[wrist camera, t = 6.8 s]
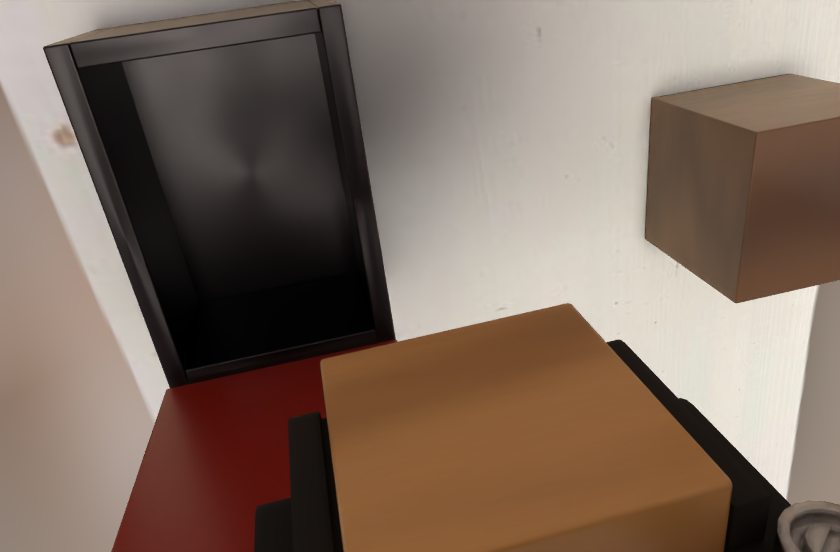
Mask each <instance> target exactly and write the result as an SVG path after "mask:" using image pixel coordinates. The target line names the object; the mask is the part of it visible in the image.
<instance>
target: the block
mask: <svg viewBox="0 0 840 552" xmlns="http://www.w3.org/2000/svg"><path fill="white" fill-rule="evenodd" d="M320 367H321V375H322V383H323V392H324V400H325V408H326V416H327V424H328V432H329V440H330V448H331V456H332V464H333V472H334V480H335V488H336V496H337V504H338V512H339V520H340V528H341V536H342V544H343V552H724V546H725V539H726V531H727V524H728V516H729V509H730V501H731V494H732V482H731V480H730V478H729V477H728V476H727V475H726V474H725V473H724V472H723V471H722V470H721V469H720V467H719V466H718V465H717V464H716V463H715V462H714V461H713V460H712V459H711V458H710V456H709V455H708V454H707V453H706V452H705V451H704V450H703V449H702V448H701V447H700V445H699V444H698V443H697V442H696V441H695V440H694V439H693V438H692V437H691V435H690V434H689V433H688V432H687V431H686V430H685V429H684V428H683V427H682V426H681V424H680V423H679V422H678V421H677V420H676V419H675V418H674V417H673V416H672V415H671V413H670V412H669V411H668V410H667V409H666V408H665V407H664V406H663V405H662V404H661V402H660V401H659V400H658V399H657V398H656V397H655V396H654V395H653V394H652V393H651V391H650V390H649V389H648V388H647V387H646V386H645V385H644V384H643V383H642V382H641V380H640V379H639V378H638V377H637V376H636V375H635V374H634V373H633V372H632V370H631V369H630V368H629V367H628V366H627V365H626V364H625V363H624V362H623V361H622V359H621V358H620V357H619V356H618V355H617V354H616V353H615V352H614V351H613V350H612V348H611V347H610V346H609V345H608V344H607V343H606V342H605V341H604V340H603V339H602V337H601V336H600V335H599V334H598V333H597V332H596V331H595V330H594V329H593V328H592V326H591V325H590V324H589V323H588V322H587V321H586V320H585V319H584V318H583V317H582V315H581V314H580V313H579V312H578V311H577V310H576V309H575V308H574V307H573V305H572V304H569V303H566V304H562V305H557V306H553V307H549V308H544V309H540V310H536V311H531V312H527V313H522V314H518V315H514V316H509V317H505V318H500V319H496V320H492V321H487V322H483V323H478V324H474V325H470V326H465V327H461V328H456V329H452V330H448V331H443V332H439V333H434V334H430V335H426V336H421V337H417V338H412V339H408V340H404V341H399V342H395V343H390V344H386V345H382V346H377V347H373V348H368V349H364V350H360V351H355V352H351V353H346V354H342V355H338V356H333V357H329V358H325V359H322V360H321V363H320Z"/></svg>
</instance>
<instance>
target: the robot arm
mask: <svg viewBox="0 0 840 552" xmlns="http://www.w3.org/2000/svg"><path fill="white" fill-rule="evenodd" d="M606 343H607V344H608V345H609V346H610V347H611V348H612V350H613V351H614V352H615V353H616V354H617V355H618V356H619V357H620V358H621V359H622V361H623V362H624V363H625V364H626V365H627V366H628V367H629V368H630V369H631V370H632V372H633V373H634V374H635V375H636V376H637V377H638V378H639V379H640V380H641V382H642V383H643V384H644V385H645V386H646V387H647V388H648V389H649V390H650V391H651V393H652V394H653V395H654V396H655V397H656V398H657V399H658V400H659V401H660V402H661V404H662V405H663V406H664V407H665V408H666V409H667V410H668V411H669V412H670V413H671V415H672V416H673V417H674V418H675V419H676V420H677V421H678V422H679V423H680V424H681V426H682V427H683V428H684V429H685V430H686V431H687V432H688V433H689V434H690V435H691V437H692V438H693V439H694V440H695V441H696V442H697V443H698V444H699V445H700V447H701V448H702V449H703V450H704V451H705V452H706V453H707V454H708V455H709V456H710V458H711V459H712V460H713V461H714V462H715V463H716V464H717V465H718V466H719V467H720V469H721V470H722V471H723V472H724V473H725V474H726V475H727V476H728V477H729V478H730V480H731V482H732V494H731V501H730V509H729V516H728V524H727V531H726V539H725V546H724V552H840V505H838V504H834V503H830V502H825V501H824V502H823V501H805V502H801V503H796V504H793V505H792V506H791V505H790V504H789V502H788V501H787V500H786V499H785V498H784V497H783V496H782V495H781V494H780V493H779V492H778V491H777V490H776V489H775V488H774V487H773V486H772V485H771V484H770V483H769V482H768V481H767V480H766V479H765V478H764V477H763V476H762V475H761V474H760V473H759V472H758V471H757V470H756V469H755V468H754V467H753V466H752V465H751V464H750V463H749V462H748V461H747V460H746V459H745V458H744V456H743V455H742V454H741V453H740V452H739V451H738V450H737V449H736V448H735V447H734V446H733V445H732V444H731V443H730V442H729V441H728V440H727V439H726V438H725V437H724V436H723V435H722V434H721V433H720V432H719V431H718V430H717V429H716V428H715V427H714V426H713V425H712V424H711V423H710V422H709V421H708V420H707V419H706V418H705V417H704V416H703V415H702V414H701V413H700V412H699V411H698V409H697V408H696V407H695V406H694V405H692V404H691V403H690V402H689V401H687V400H685V399H682V398H679V399H678V398H677V397H676V396H675V395H674V394H673V393H672V391H671V390H670V389H669V388H668V387H667V386H666V385H665V384H664V383H663V382H662V381H661V380H660V379H659V378H658V377H657V376H656V375H655V374H654V373H653V372H652V371H651V370H650V369H649V367H648V366H647V365H646V364H645V363H644V362H643V361H642V360H641V359H640V358H639V357H638V356H637V355H636V354H635V353H634V352H633V351H632V350H631V349H630V348H629V347H628V346H627V345H626V344H625V343H624V342H623V341H622V340H615V341H610V342H606ZM288 436H289V463H290V489H291V497H290V498H286V499H282V500H278V501H274V502H270V503H266V504H263V505H259V506H257V508H256V514H255V539H254V552H343V544H342V536H341V528H340V520H339V512H338V504H337V496H336V488H335V480H334V472H333V464H332V456H331V448H330V440H329V432H328V424H327V418H323V419H322V418H321V414H320V412H319V411H317V412H312V413H308V414H304V415H300V416H296V417H291V418H289V419H288Z"/></svg>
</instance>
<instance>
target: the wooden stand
mask: <svg viewBox="0 0 840 552" xmlns="http://www.w3.org/2000/svg"><path fill="white" fill-rule="evenodd" d="M645 239H646V240H647V241H649V242H650V243H652V244H653V245H654V246H656V247H657V248H659V249H660V250H661V251H663V252H664V253H666V254H667V255H668V256H670V257H671V258H673V259H674V260H675V261H677V262H678V263H680V264H681V265H682V266H684V267H685V268H687V269H688V270H689V271H691V272H692V273H694V274H695V275H696V276H698V277H699V278H701V279H702V280H703V281H705V282H706V283H708V284H709V285H710V286H712V287H713V288H715V289H716V290H717V291H719V292H720V293H722V294H723V295H724V296H726V297H727V298H729V299H730V300H731V301H733V302H734V303H740V302H745V301H749V300H753V299H758V298H762V297H767V296H771V295H775V294H780V293H784V292H789V291H793V290H797V289H802V288H806V287H811V286H815V285H820V284H824V283H828V282H833V281H837V280H840V84H839V83H834V82H829V81H824V80H819V79H814V78H809V77H804V76H798V75H793V74H786V75H781V76H775V77H769V78H764V79H758V80H752V81H747V82H741V83H735V84H729V85H724V86H718V87H712V88H707V89H701V90H695V91H690V92H684V93H678V94H672V95H667V96H661V97H655V98H652V109H651V130H650V151H649V172H648V193H647V214H646V235H645Z"/></svg>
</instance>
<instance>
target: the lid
mask: <svg viewBox="0 0 840 552" xmlns="http://www.w3.org/2000/svg"><path fill="white" fill-rule="evenodd" d="M395 342H397V340H391V341H386V342H382V343H377V344H372V345H368V346H363V347H359V348H354V349H349V350H345V351H340V352H336V353H331V354H326V355H322V356H317V357H313V358H308V359H304V360H299V361H294V362H290V363H285V364H281V365H276V366H271V367H267V368H262V369H258V370H253V371H248V372H244V373H239V374H235V375H230V376H225V377H221V378H216V379H212V380H207V381H202V382H198V383H193V384H189V385H184V386H180V387H175V388H170V389H167V390H166V393H165V395H164V398H163V401H162V404H161V407H160V410H159V413H158V416H157V419H156V422H155V425H154V428H153V431H152V434H151V437H150V440H149V443H148V445H147V448H146V451H145V454H144V457H143V460H142V463H141V466H140V469H139V472H138V475H137V478H136V481H135V484H134V487H133V490H132V493H131V496H130V499H129V501H128V505H127V507H126V511H125V513H124V516H123V519H122V522H121V525H120V528H119V531H118V534H117V537H116V540H115V543H114V546H113V548H112V551H111V552H254V539H255V514H256V508H257V506H259V505H263V504H266V503H270V502H274V501H278V500H282V499H286V498H290V497H291V489H290V463H289V436H288V419H289V418H291V417H296V416H300V415H304V414H308V413H312V412H317V411H319V412H320V414H321V418H322V419H323V418H327V416H326V408H325V400H324V392H323V383H322V375H321V367H320V363H321V360H322V359H325V358H329V357H333V356H338V355H342V354H346V353H351V352H355V351H360V350H364V349H368V348H373V347H377V346H382V345H386V344H390V343H395Z"/></svg>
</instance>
